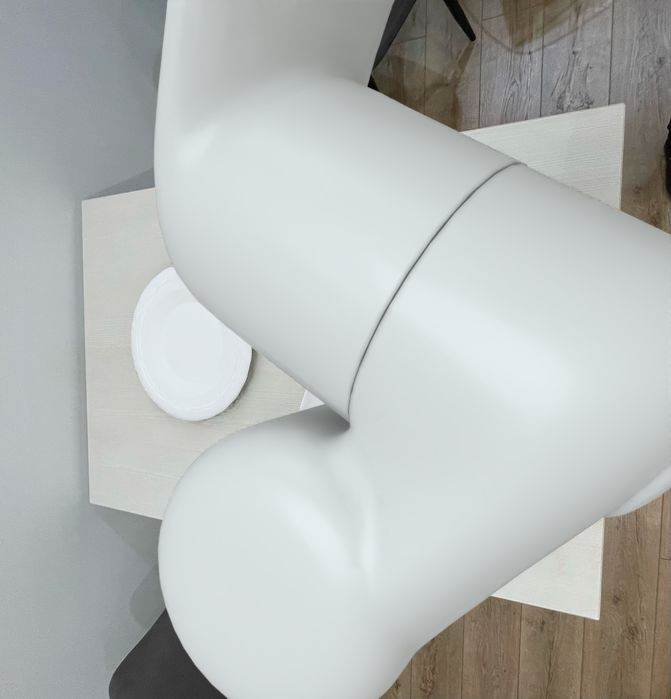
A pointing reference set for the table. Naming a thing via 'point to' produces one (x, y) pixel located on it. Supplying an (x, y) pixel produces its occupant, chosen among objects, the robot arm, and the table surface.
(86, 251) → the table surface
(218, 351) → the plate
